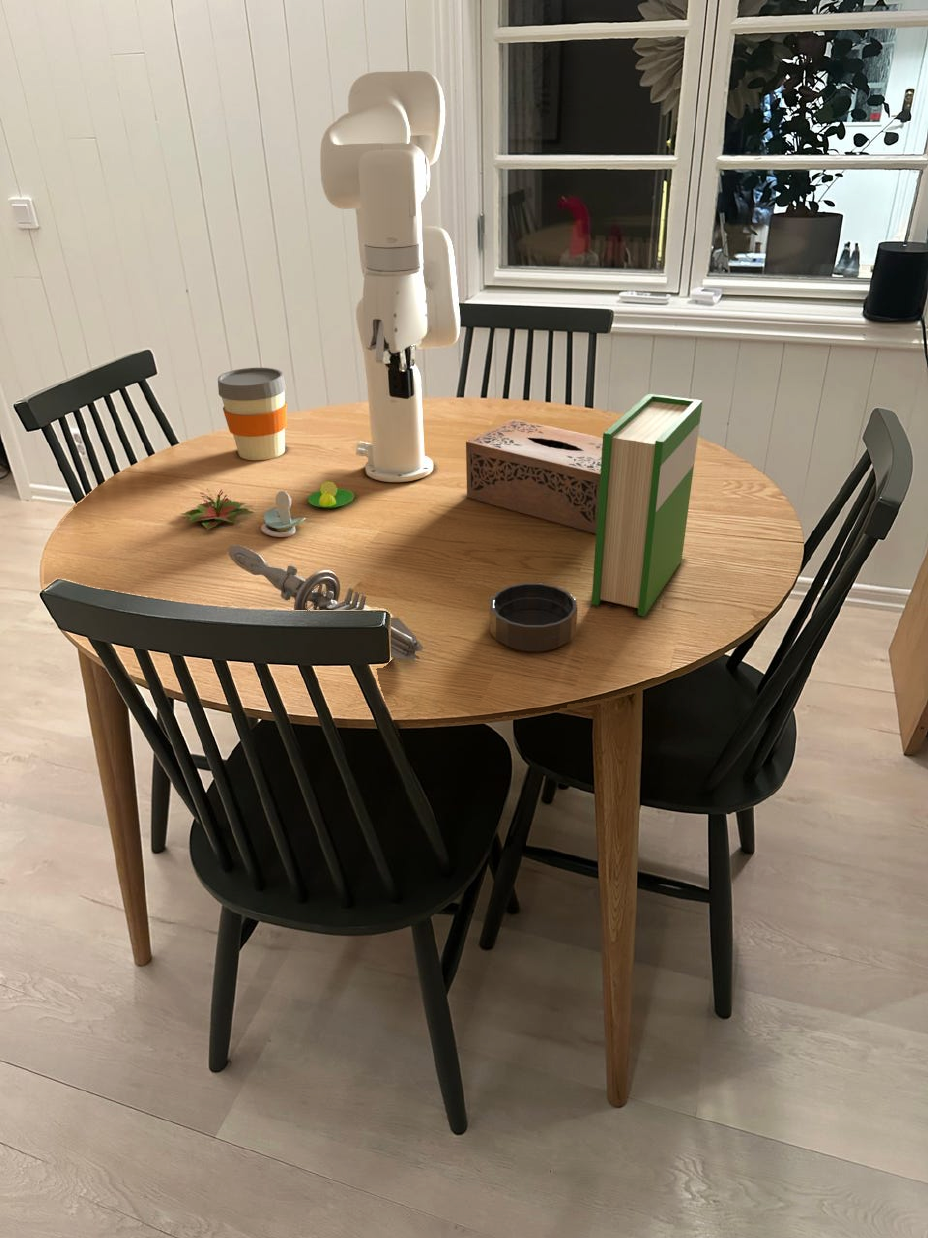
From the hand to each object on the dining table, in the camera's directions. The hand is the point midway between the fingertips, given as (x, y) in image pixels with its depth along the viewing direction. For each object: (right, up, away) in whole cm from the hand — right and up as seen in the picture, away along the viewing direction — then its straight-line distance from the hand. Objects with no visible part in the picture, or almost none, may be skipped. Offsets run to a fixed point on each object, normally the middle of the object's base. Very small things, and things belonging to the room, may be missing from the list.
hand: (401, 395), depth 120 cm
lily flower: (-32, -15, +21) cm, 41 cm away
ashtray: (+18, -33, -11) cm, 39 cm away
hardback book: (+34, -27, 0) cm, 43 cm away
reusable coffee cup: (-31, +1, +47) cm, 56 cm away
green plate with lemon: (-14, -12, +26) cm, 32 cm away
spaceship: (-10, -33, -8) cm, 35 cm away
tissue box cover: (+24, -12, +24) cm, 36 cm away
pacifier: (-21, -18, +16) cm, 32 cm away
